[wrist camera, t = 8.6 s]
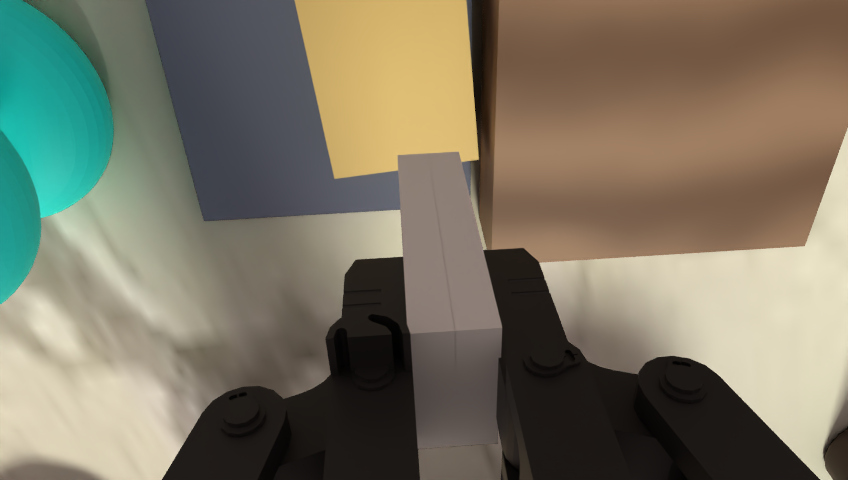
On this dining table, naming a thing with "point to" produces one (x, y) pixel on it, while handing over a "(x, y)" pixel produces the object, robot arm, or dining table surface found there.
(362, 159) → the yellow flat block
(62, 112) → the donuts
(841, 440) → the bottle
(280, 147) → the mat
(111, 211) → the dining table surface
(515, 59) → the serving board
